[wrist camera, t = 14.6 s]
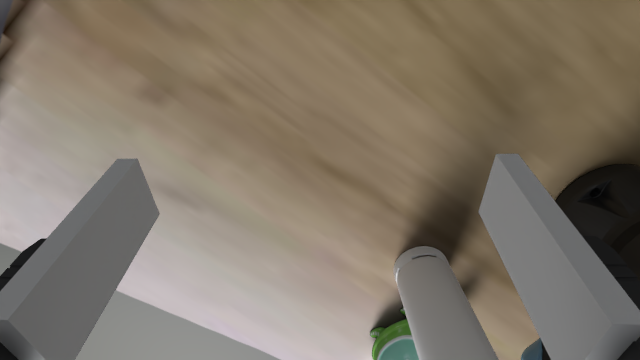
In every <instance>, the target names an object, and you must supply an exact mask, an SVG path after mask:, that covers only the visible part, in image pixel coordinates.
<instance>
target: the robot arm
mask: <svg viewBox="0 0 640 360" xmlns="http://www.w3.org/2000/svg"><path fill="white" fill-rule="evenodd" d="M479 214H480V216H481V218H482V220H483V222H484V224H485V226H486V228H487V230H488V232H489V235H490V237H491V239H492V241H493V243H494V245H495V247H496V249H497V251H498V253H499V255H500V257H501V259H502V261H503V263H504V265H505V267H506V269H507V271H508V273H509V275H510V277H511V279H512V281H513V283H514V285H515V287H516V290H517V292H518V294H519V296H520V298H521V300H522V302H523V304H524V306H525V308H526V310H527V312H528V314H529V316H530V318H531V320H532V322H533V324H534V326H535V328H536V330H537V332H538V334H539V336H540V338H539V339H538V340H537V341H535V342H534V343H533V344H531V345H530V346H529V347H527V348H526V349H525V350H524V352H523V354H522V357H521V360H640V166H637V165H631V164H617V165H610V166H606V167H602V168H599V169H597V170H594V171H592V172H590V173H588V174H586V175H584V176H582V177H581V178H579V179H578V180H576V181H575V182H573V183H572V184H571V185H570V186H569V187H568V188H566V189H565V190H564V191H563V192H562V194H561V195H560V196H559V197H558V199H557V200H556V201H554V199H553V198H552V197H551V196H550V194H549V193H548V192H547V190H546V189H545V188H544V187H543V185H542V184H541V183H540V181H539V180H538V179H537V178H536V176H535V175H534V174H533V172H532V171H531V170H530V169H529V167H528V166H527V165H526V163H525V162H524V161H523V160H522V158H521V157H520V156H519V154H496V156H495V159H494V162H493V166H492V169H491V172H490V176H489V179H488V182H487V185H486V189H485V192H484V195H483V199H482V202H481V205H480V208H479ZM158 216H159V211H158V209H157V206H156V204H155V201H154V199H153V196H152V194H151V191H150V189H149V186H148V184H147V181H146V179H145V176H144V174H143V171H142V169H141V166H140V164H139V161H138V159H117V160H116V161H115V162H114V163H113V165H112V166H111V167H110V168H109V169H108V170H107V171H106V172H105V174H104V175H103V176H102V177H101V178H100V179H99V180H98V181H97V183H96V184H95V185H94V186H93V187H92V188H91V189H90V191H89V192H88V193H87V194H86V195H85V196H84V197H83V198H82V200H81V201H80V202H79V203H78V204H77V205H76V206H75V207H74V209H73V210H72V211H71V212H70V213H69V214H68V215H67V216H66V218H65V219H64V220H63V221H62V222H61V223H60V224H59V226H58V227H57V228H56V229H55V230H54V231H53V232H52V233H51V235H50V236H49V237H48V238H47V239H40V240H38V241H37V242H36V243H34V244H33V245H31V246H30V247H28V248H27V249H26V250H24V251H23V252H22V253H21V254H20V255H19V256H18V257H17V259H16V260H15V261H14V262H13V263H12V264H11V265H10V268H7V269H6V270H5V272H4V273H3V274H2V275H1V276H0V360H75V359H76V356H77V355H78V353H79V352H80V350H81V348H82V346H83V345H84V343H85V341H86V340H87V338H88V336H89V334H90V333H91V331H92V329H93V328H94V326H95V324H96V322H97V321H98V319H99V317H100V315H101V314H102V312H103V310H104V309H105V307H106V305H107V303H108V302H109V300H110V298H111V297H112V295H113V293H114V291H115V290H116V288H117V286H118V285H119V283H120V281H121V279H122V278H123V276H124V274H125V273H126V271H127V269H128V267H129V266H130V264H131V262H132V260H133V259H134V257H135V255H136V254H137V252H138V250H139V248H140V247H141V245H142V243H143V242H144V240H145V238H146V236H147V235H148V233H149V231H150V230H151V228H152V226H153V224H154V223H155V221H156V219H157V217H158Z"/></svg>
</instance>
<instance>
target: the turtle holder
mask: <svg viewBox="0 0 640 360" xmlns="http://www.w3.org/2000/svg"><path fill="white" fill-rule="evenodd" d="M400 312H401V313H402V314H403V315H406V314H405V310H404V308H402V309H401V310H400ZM370 336H371V337H373V338H376V340H375V342H374V345H373V349H372V357H373V360H419V358H418V354H417V351H416V348H415V344H414V341H413V337H412V334H411V331H410V327H409V324H408V320H407V319H405V320H402V321H399V322H397V323H394V324H392V325H391V326H389V327H387V328H386V329H385V328H383V327H378V328H375V329H374V330H372V331H371V332H370Z"/></svg>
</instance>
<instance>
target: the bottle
mask: <svg viewBox="0 0 640 360" xmlns="http://www.w3.org/2000/svg"><path fill="white" fill-rule="evenodd" d="M423 255H431V256H436V257H431V256H424V257H419V258H416V259H413V260H412V258H415V257H418V256H423ZM399 271H400V272H399ZM394 276H395V280H396V282H397V287H398V290H399V293H400V297H401V300H402V303H403V307H404V310H405V314H406V317H407V320H408V324H409V327H410V331H411V334H412V337H413V341H414V344H415V348H416V351H417V354H418V358H419V360H498V358H497V356H496V354H495V352H494V350H493V348H492V346H491V344H490V342H489V340H488V338H487V336H486V334H485V333H484V331H483V329H482V327H481V325H480V323H479V321H478V319H477V317H476V315H475V313H474V311H473V309H472V307H471V305H470V303H469V301H468V300H467V298H466V296H465V294H464V292H463V290H462V288H461V286H460V284H459V282H458V280H457V278H456V276H455V274H454V272H453V270H452V268H451V267H450V265H449V263H448V261H447V259H446V257H445V255H444V254H443V253H442V252H441V251H440V250H438V249H436V248H434V247H428V246H420V247H415V248H412V249H409V250H407V251H406V252H404V253H403V254H401V255H400V256H399V258H398V259H397V260H396V262H395V265H394Z"/></svg>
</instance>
